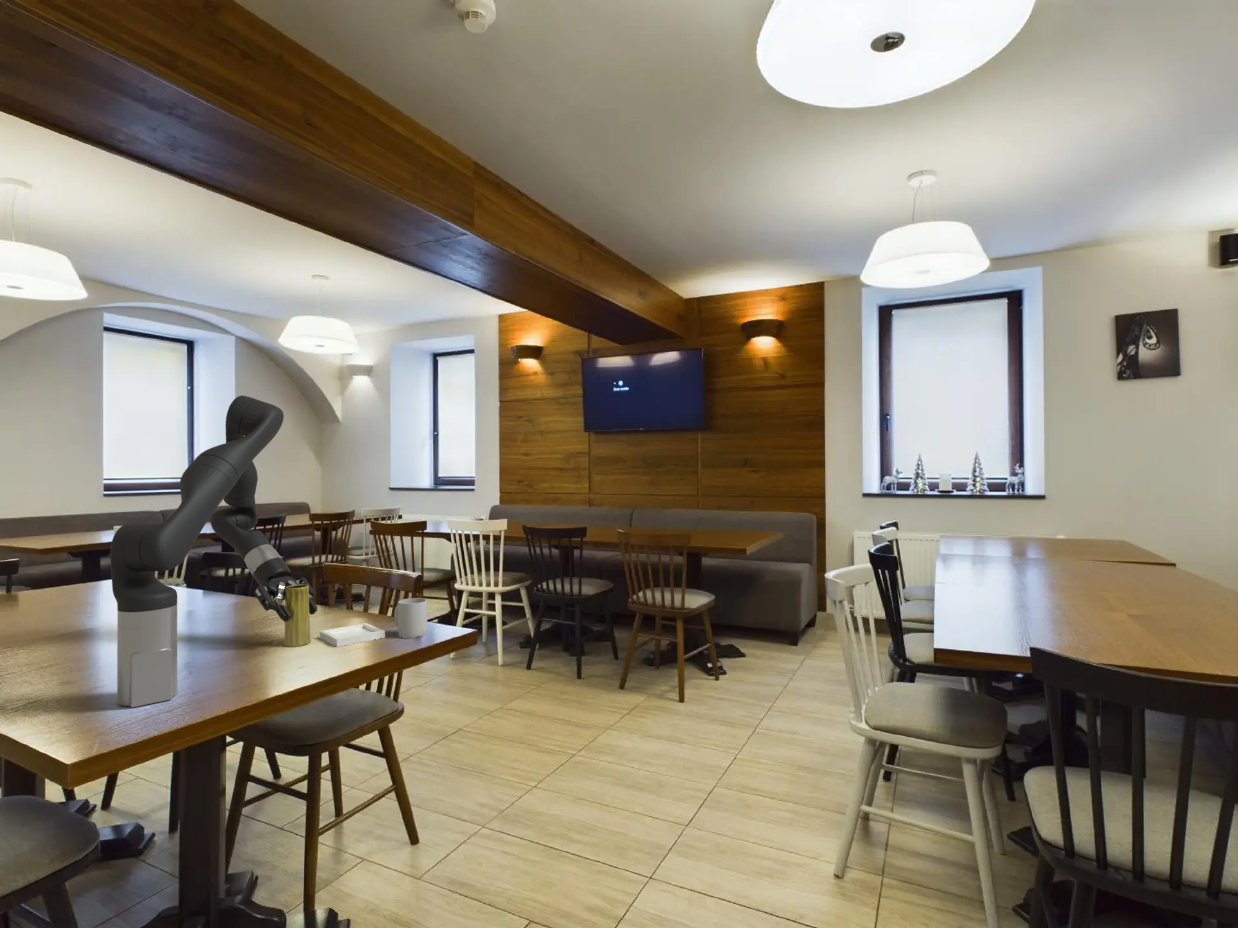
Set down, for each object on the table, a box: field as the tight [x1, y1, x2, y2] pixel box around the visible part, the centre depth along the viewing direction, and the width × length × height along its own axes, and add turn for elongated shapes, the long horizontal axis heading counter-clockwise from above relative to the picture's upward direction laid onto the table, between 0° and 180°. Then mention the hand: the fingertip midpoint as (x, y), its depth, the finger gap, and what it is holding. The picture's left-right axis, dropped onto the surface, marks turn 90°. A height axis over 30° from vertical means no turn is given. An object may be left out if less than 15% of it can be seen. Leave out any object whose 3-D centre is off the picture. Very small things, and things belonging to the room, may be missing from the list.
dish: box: [319, 622, 386, 648], centre depth 166 cm, size 12×12×2 cm
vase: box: [283, 585, 312, 648], centre depth 161 cm, size 6×6×14 cm
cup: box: [393, 597, 428, 639], centre depth 169 cm, size 7×10×9 cm
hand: (301, 615), depth 160 cm, fingers open, 7 cm apart
